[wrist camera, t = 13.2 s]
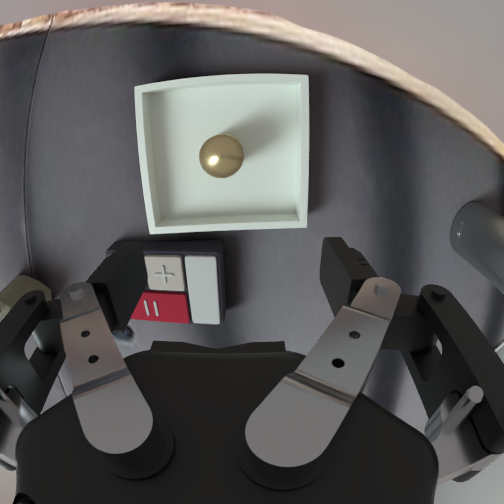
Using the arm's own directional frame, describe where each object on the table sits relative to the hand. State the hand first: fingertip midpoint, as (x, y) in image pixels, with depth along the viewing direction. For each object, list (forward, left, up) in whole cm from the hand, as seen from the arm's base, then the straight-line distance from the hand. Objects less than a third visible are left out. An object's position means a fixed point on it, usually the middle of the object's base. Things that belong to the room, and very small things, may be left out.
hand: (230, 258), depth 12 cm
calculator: (+10, +14, -22) cm, 28 cm away
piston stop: (+1, -2, -21) cm, 21 cm away
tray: (+1, -2, -22) cm, 22 cm away
